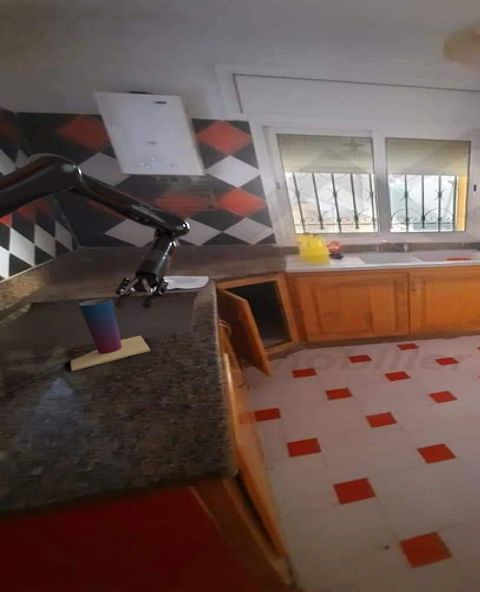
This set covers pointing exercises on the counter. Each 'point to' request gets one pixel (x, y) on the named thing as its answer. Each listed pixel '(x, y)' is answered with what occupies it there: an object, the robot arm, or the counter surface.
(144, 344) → the mat
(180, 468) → the counter surface
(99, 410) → the counter surface
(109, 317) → the cup
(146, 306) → the robot arm
